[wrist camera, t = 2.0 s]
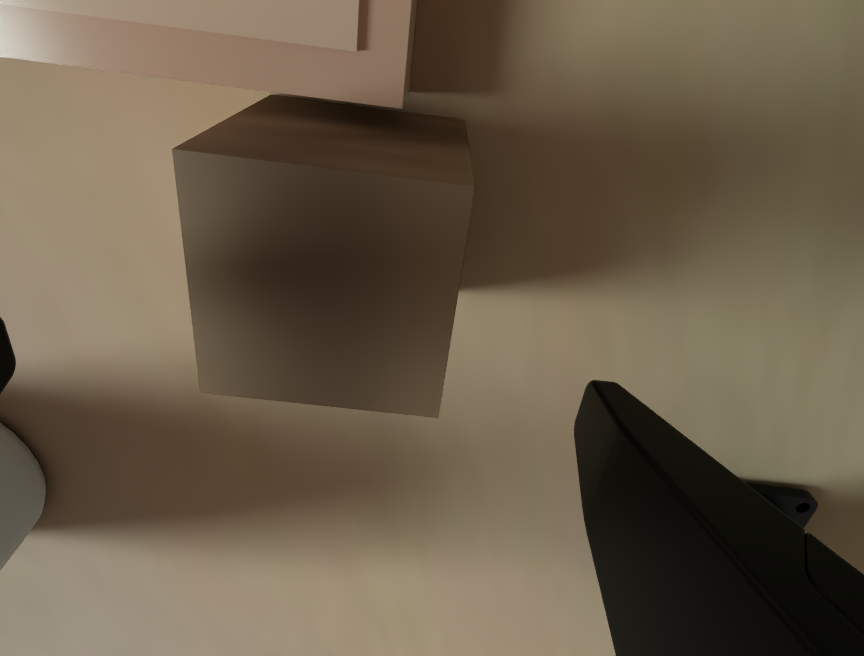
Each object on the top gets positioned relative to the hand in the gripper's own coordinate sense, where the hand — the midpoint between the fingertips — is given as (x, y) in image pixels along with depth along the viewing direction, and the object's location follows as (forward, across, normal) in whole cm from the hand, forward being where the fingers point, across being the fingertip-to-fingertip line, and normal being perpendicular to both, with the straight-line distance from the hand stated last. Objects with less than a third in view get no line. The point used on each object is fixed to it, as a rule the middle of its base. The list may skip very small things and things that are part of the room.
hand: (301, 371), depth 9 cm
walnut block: (+8, 0, 0) cm, 8 cm away
